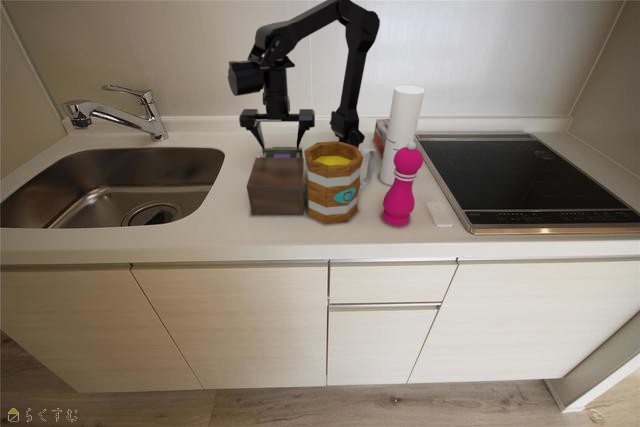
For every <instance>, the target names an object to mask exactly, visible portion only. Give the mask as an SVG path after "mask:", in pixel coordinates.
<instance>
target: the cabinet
mask: <svg viewBox="0 0 640 427" xmlns="http://www.w3.org/2000/svg"><path fill="white" fill-rule="evenodd" d="M246 191H247V196H248V202H249V207H250V214H251V216H304V203H305V202H304V200H305V157H303V158H263V157H255V159H254V162H253V165H252V168H251V171H250V175H249V177H248V180H247V183H246Z"/></svg>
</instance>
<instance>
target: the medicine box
mask: <svg viewBox="0 0 640 427" xmlns="http://www.w3.org/2000/svg"><path fill="white" fill-rule="evenodd" d="M388 124H389V118H376V119H375V125H374V131H373V132H374V133H373V142H374V143H375V145H376V147H377V149H378V151H379V152H380V154H381V156H382V157H383V155H384V149H385V142H386V136H387V130H388Z"/></svg>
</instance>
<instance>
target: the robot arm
mask: <svg viewBox="0 0 640 427" xmlns="http://www.w3.org/2000/svg"><path fill="white" fill-rule="evenodd" d="M334 22H338V23H339V24H341V26H343V27H345V29H344V30H345V31H344V32H345V33H344V35H345V36H344V38H345V42H346V45H347V50H348V52H347V56H346V64H345V71H344V77H343V83H342V90H341V96H340V102H339V106H338V107H337V109H336V110H332V111H331V113H330V121H329V125H330V129H331V130H330V131H332V133H333V134H334V136H335V137H336V138H338V141H339V142H343V143H346V144H349V145H353V146H356V147H358V149H359V148H360V145H361V144H363V143H364V141H365V138H366V136H365V134H364V133H362V131H360V117H359V113H358V103H359V98H360V92H361V88H362V82H363V76H364V71H365V65H366V61H367V55H368V52H369V51H370V50H371V48H372V46H373V45H374V44H375V42H376V40H377V36H378V33H379V30H380V25H381V19H380V18H379V14H377V12H376V11H374V10H367V9H366V8H365V7H362V6H360V5H359V4H357V3H355V2H354V1H352V0H324V1H322V2H321V3H319V4H317V5H315V6H313V7H311V8H310V9H309V8H308V10H306V11H304V12H302V13H300V14H298V15H296V16H294V17H293V18H291V19H288V20H283V21H277V22H272V23H269V24H268V23H267V24H265V25H262V26H260V27H259V28H257V29H256V31H255V36H254V44H253V45H252V47H251V50H250V52H249V54H248V56H247V58H246V60H239V61H237V60H229V61H228V70H227V81H228V85H229V88H230V90H231V93H232V94H233V96H234V97H238V96H245V95H250V94H257V93H260V92H261V91H262V90H263V91H262V105H263V106H265V112H266V113H260V112H259V109H258V108H243V110H242V111H241V112H240V115H239V116H238V121H239V122H238V123H239V127H240V128H245V130H246V131H249V132H250V133H251V134H252V136H253V137H254V138H255V139H256V141H257V142H258V144H259V146H260V147H261V150H262V149H263V150H264V149H265V148H266V145H265V139H264V135H263V130H262V122H263V123H265V122H268V123H269V122H272V123H278V122H280V123H287V122H289V123H290V122H291V123H298V125H297V126H298V127H297V137H296V148H297V150H298V149H299V148H300V145H301V142H302V140H303V137H304V135H305V133H306V132H307V131H310V130H311V128H315V127H316V112H315V111H314V109H313V108H304V109H303V108H299V112H298V113H290V112H291V101H290V96H289V88H288V70H287V69H290V68H295V67H296V64H295V62H293V61H292V60H291V59H290V57H289V54H290V53H291V52H292V51H293V50H294V49H295V48H296V47H297V45H298V43H299V42H300V41H302V40H303V39H305V38H307V37H308V36H310V35H312V34H314V33H316V32H318V31H320V30H322V29H324V28H325V27H327V26H329V25H330V24H333V23H334ZM359 150H360V149H359Z"/></svg>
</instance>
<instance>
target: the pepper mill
mask: <svg viewBox="0 0 640 427" xmlns="http://www.w3.org/2000/svg"><path fill="white" fill-rule="evenodd" d="M393 162H394V165H395V168H394V172H393V175H394V176H395V179H394V183H393V185H390V187H389V189H388V190H387V191H386V193H385V195H384V197H383V199H382V207H383V210H382V211H383V212H382V219H383V221H384V222H385V223H387V224H388V225H390V226H395V227H401V226H404V225H406V224H408V222H409V220H410V216H411V213H412V212H413V211H414V209H415V205H416V204H415V196H414V193H413V185H414V181H415V180H416V179H417V178H418V174H419V170H420V169H421V168H422V167H423V165H424V155H423V153H422V151H420V150H419V149H418V148H417V143H416V142H415V141H413V142H412V141H411V142H409V143H408V144H407V147H404V148H401V149H399V150H398V151H397V152H396V154H395V156H394V161H393Z"/></svg>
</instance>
